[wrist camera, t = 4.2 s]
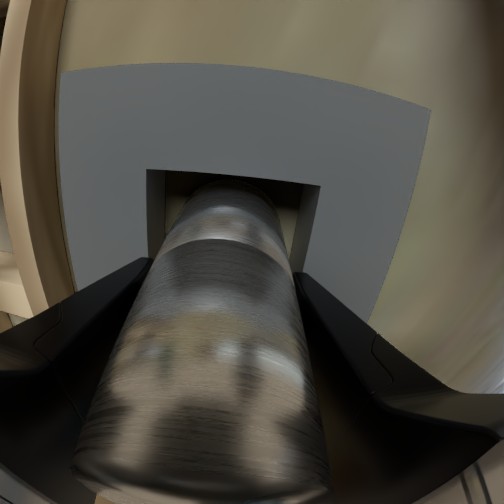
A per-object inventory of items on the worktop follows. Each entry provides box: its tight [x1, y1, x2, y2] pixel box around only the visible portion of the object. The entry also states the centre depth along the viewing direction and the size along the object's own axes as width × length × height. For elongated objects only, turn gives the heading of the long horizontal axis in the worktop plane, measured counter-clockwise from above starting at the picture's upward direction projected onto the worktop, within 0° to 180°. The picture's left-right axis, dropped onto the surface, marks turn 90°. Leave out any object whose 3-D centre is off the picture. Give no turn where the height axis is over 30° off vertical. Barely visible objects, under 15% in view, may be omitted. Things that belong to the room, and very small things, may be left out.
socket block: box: [59, 63, 431, 323], centre depth 11 cm, size 12×12×2 cm
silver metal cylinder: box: [69, 180, 334, 504], centre depth 8 cm, size 4×4×10 cm
